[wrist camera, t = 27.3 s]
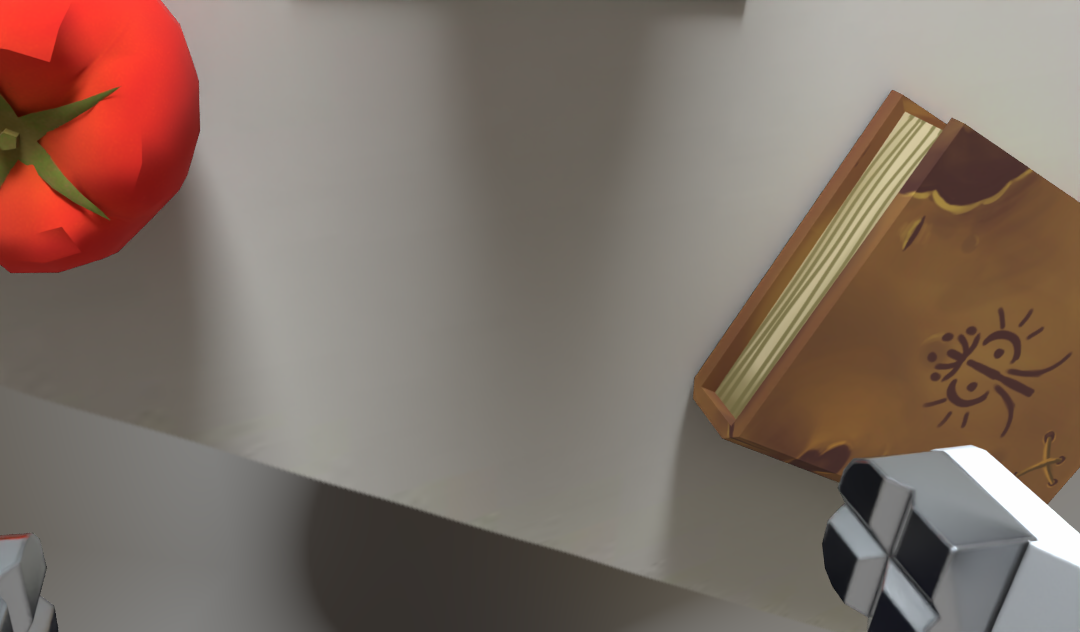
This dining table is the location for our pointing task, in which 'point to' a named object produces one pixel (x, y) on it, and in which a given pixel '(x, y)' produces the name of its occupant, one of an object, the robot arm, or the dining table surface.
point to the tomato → (89, 126)
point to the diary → (914, 313)
